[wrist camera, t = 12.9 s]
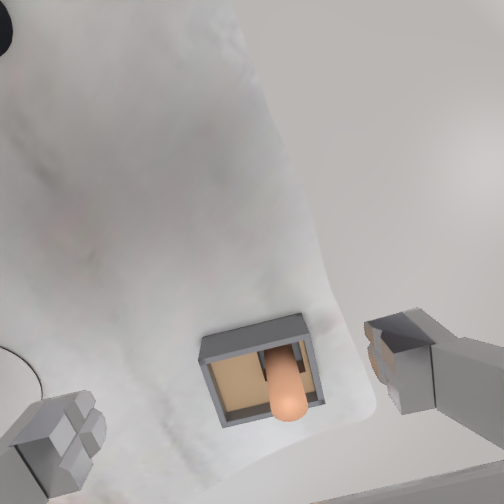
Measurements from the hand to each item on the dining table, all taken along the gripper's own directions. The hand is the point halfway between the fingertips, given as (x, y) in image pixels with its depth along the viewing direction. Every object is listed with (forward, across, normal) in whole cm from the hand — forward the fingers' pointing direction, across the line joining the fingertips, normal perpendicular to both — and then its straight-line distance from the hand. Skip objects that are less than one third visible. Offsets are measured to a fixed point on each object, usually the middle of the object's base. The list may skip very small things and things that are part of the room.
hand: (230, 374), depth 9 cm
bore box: (+29, +2, +21) cm, 36 cm away
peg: (+28, -1, +20) cm, 34 cm away
